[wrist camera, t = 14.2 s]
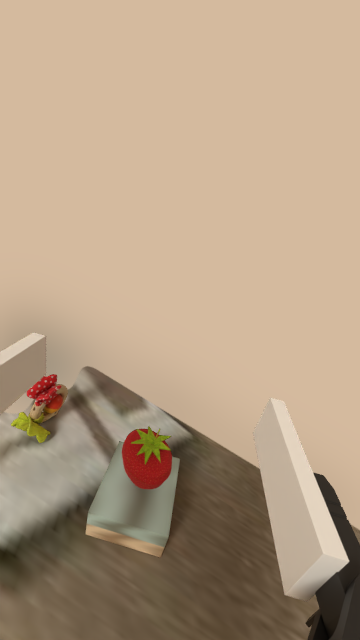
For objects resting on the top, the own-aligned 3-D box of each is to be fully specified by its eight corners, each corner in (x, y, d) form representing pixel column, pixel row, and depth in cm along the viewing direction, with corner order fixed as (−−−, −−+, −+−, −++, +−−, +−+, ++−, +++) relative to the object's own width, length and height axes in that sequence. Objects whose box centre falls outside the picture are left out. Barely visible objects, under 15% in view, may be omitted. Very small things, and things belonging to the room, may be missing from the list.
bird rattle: (39, 416, 46) (-4, 436, 37) (57, 362, 46) (19, 370, 37) (66, 428, 45) (30, 452, 36) (85, 373, 45) (53, 384, 36)
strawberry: (141, 450, 36) (154, 401, 33) (172, 492, 32) (191, 441, 28) (107, 471, 32) (116, 418, 28) (137, 523, 28) (153, 469, 24)
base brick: (85, 534, 30) (88, 512, 28) (115, 461, 39) (119, 441, 37) (160, 557, 29) (168, 536, 27) (173, 478, 38) (180, 458, 36)
